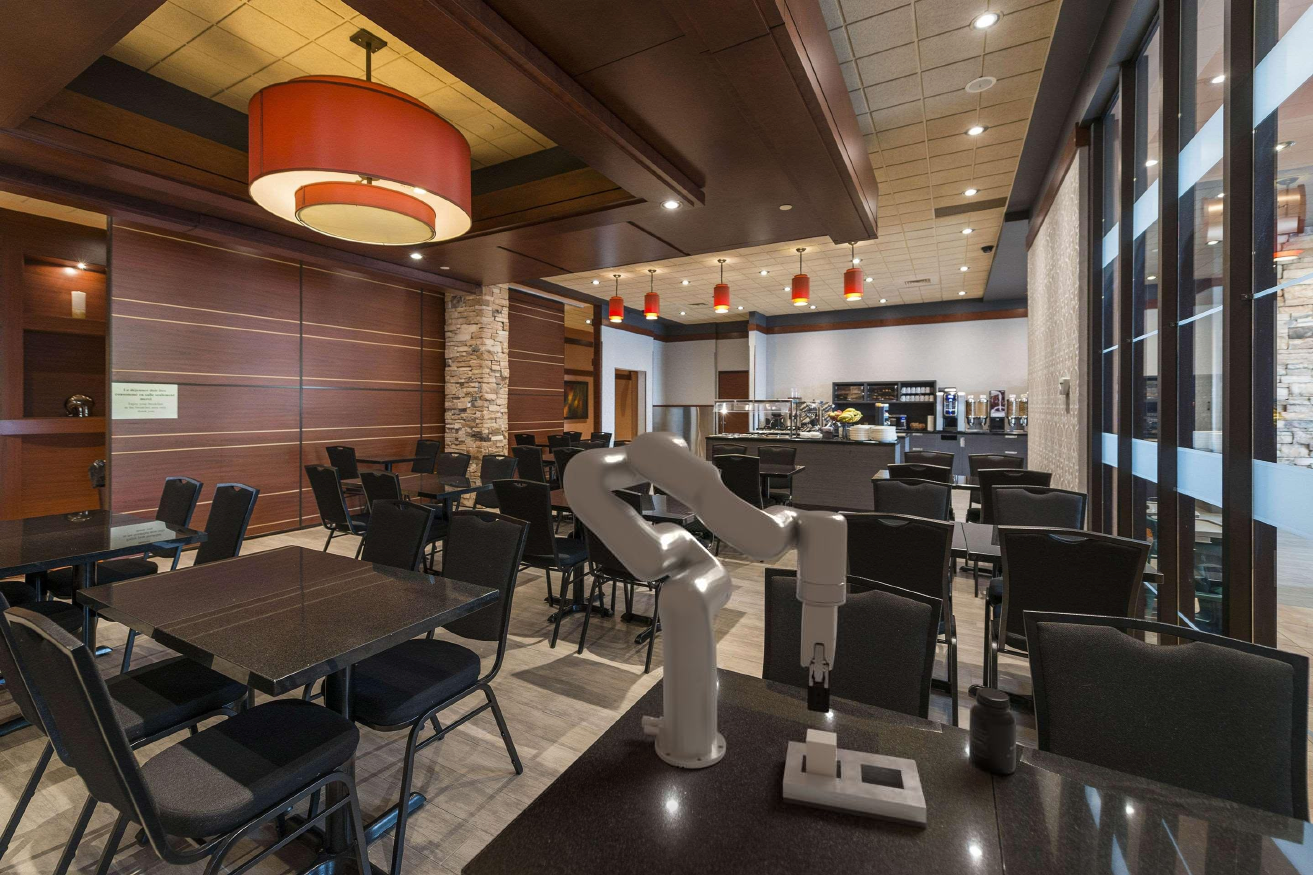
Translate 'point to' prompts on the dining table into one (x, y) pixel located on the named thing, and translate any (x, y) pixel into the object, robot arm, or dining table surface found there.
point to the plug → (821, 753)
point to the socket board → (858, 786)
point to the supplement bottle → (992, 732)
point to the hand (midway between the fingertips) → (818, 695)
